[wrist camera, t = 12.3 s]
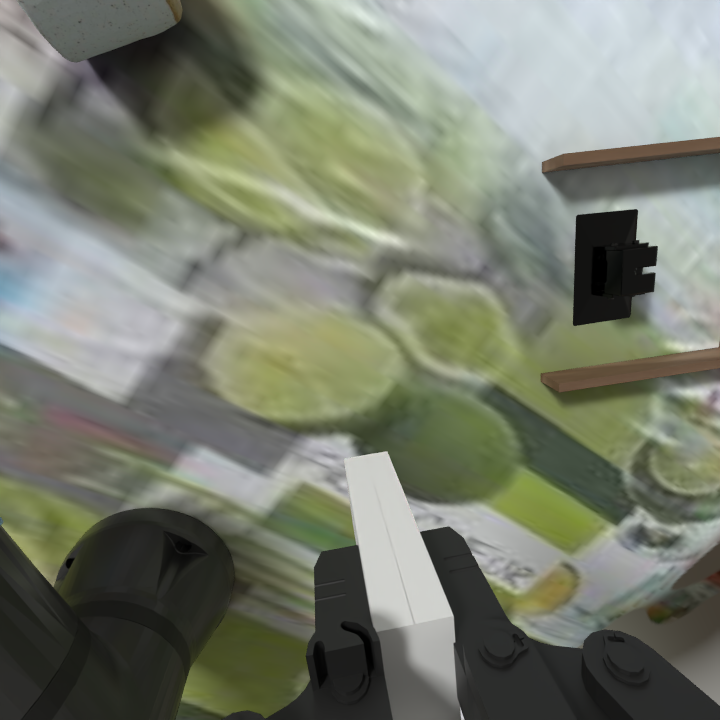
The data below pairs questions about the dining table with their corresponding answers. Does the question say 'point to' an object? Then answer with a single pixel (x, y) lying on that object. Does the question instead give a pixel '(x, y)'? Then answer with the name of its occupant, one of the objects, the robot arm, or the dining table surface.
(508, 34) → the dining table surface
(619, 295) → the black wall mount bracket
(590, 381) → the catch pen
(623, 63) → the dining table surface
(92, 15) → the ceramic mug
